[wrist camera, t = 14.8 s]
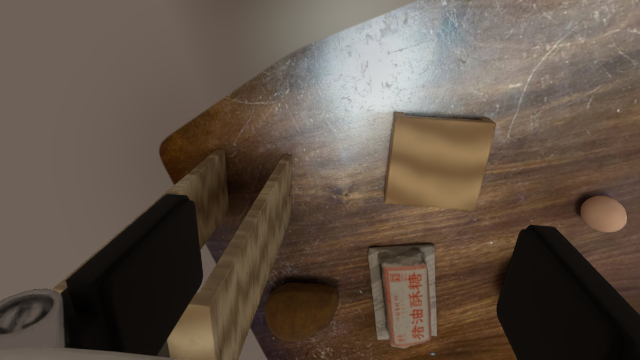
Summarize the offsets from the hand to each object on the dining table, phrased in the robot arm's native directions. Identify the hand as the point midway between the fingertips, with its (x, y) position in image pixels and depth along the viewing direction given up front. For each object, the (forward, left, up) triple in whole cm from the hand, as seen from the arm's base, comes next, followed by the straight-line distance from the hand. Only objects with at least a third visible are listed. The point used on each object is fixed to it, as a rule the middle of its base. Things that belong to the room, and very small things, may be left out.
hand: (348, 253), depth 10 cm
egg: (+15, +33, -38) cm, 53 cm away
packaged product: (+33, +10, -38) cm, 52 cm away
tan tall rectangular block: (+16, -14, -38) cm, 44 cm away
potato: (+36, -6, -38) cm, 53 cm away
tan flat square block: (+10, +11, -38) cm, 41 cm away
